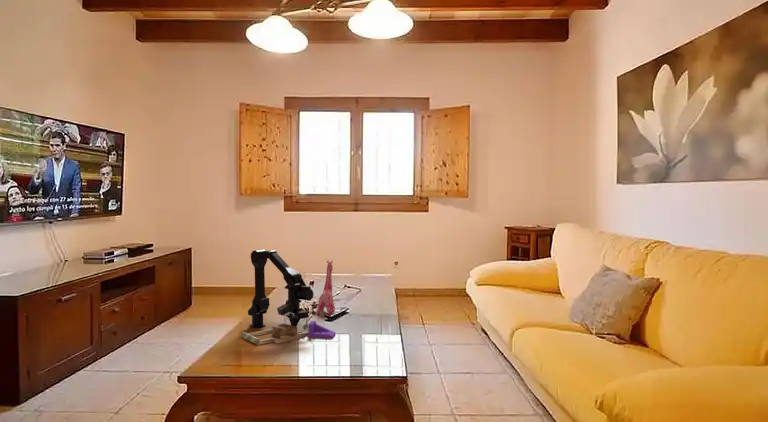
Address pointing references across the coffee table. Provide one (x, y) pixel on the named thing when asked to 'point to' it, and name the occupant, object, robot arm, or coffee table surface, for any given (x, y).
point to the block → (284, 330)
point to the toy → (327, 292)
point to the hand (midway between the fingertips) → (293, 329)
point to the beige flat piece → (282, 339)
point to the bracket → (319, 331)
